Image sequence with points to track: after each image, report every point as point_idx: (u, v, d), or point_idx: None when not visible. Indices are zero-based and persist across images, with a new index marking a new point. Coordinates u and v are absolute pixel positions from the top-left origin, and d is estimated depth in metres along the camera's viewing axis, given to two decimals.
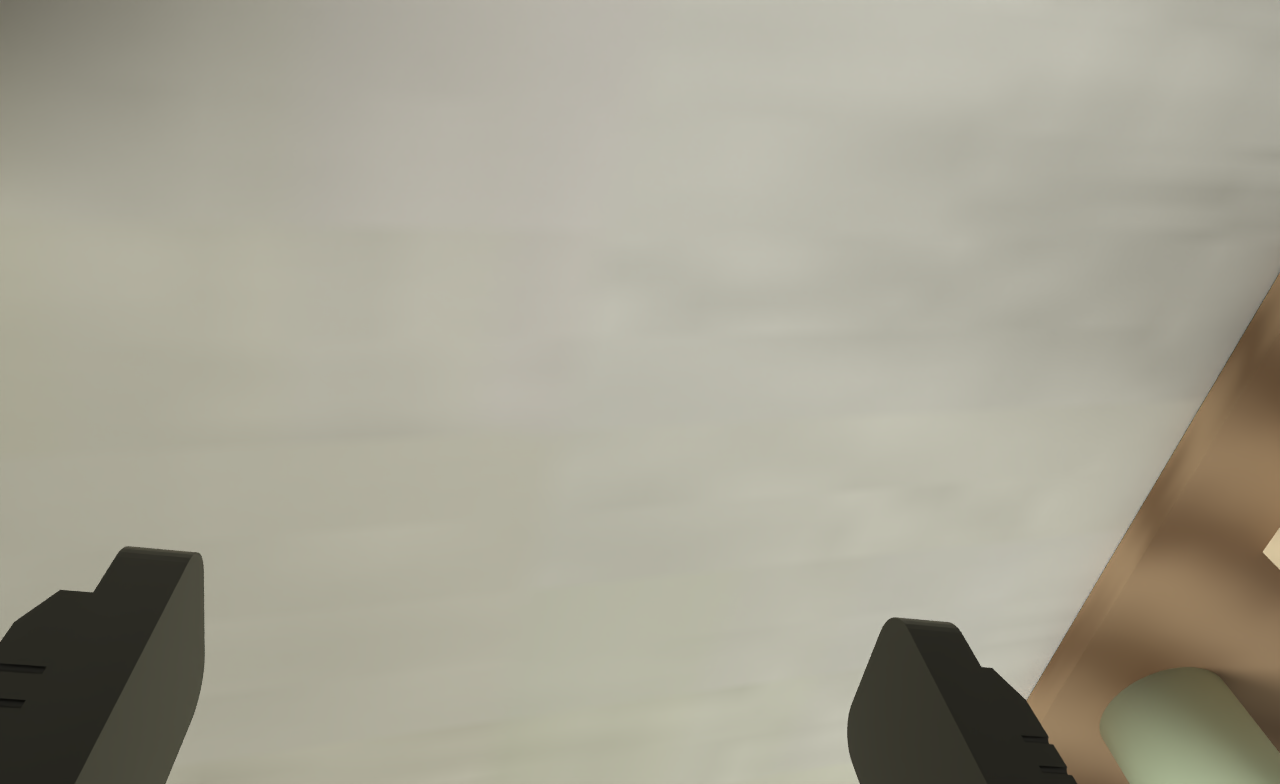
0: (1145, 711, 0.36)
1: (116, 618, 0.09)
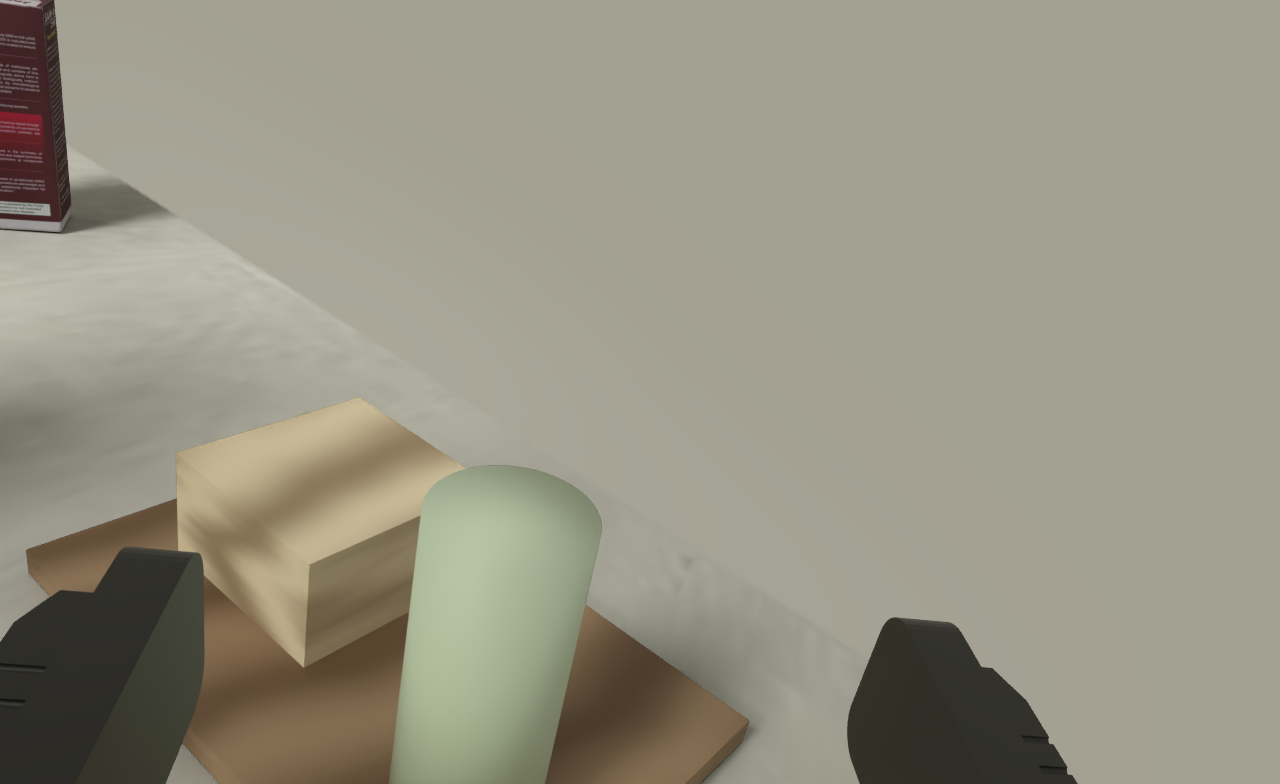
0: None
1: (116, 618, 0.09)
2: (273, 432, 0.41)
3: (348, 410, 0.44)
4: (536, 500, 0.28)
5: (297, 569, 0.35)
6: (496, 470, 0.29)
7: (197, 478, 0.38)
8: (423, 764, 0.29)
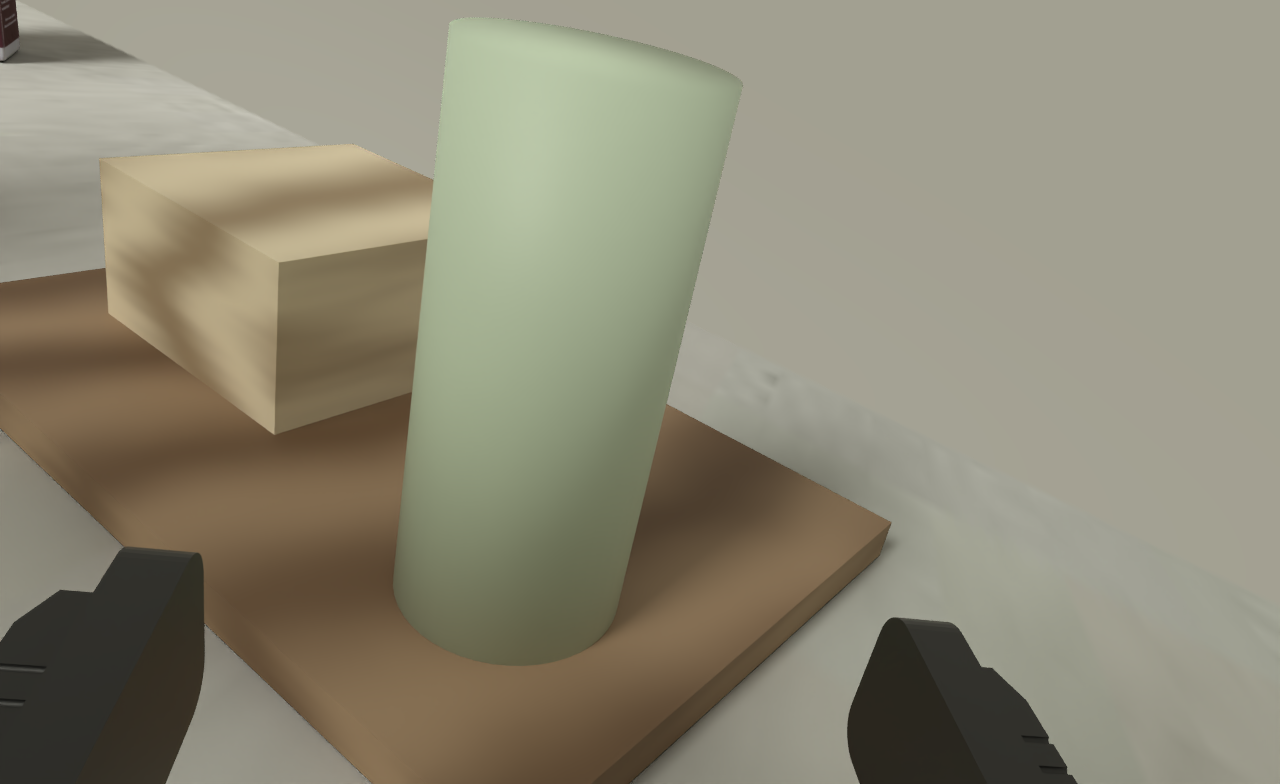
0: (399, 551, 0.20)
1: (116, 618, 0.09)
2: (236, 157, 0.31)
3: (338, 150, 0.34)
4: (631, 51, 0.18)
5: (262, 277, 0.24)
6: (562, 28, 0.19)
7: (127, 186, 0.27)
8: (451, 487, 0.18)
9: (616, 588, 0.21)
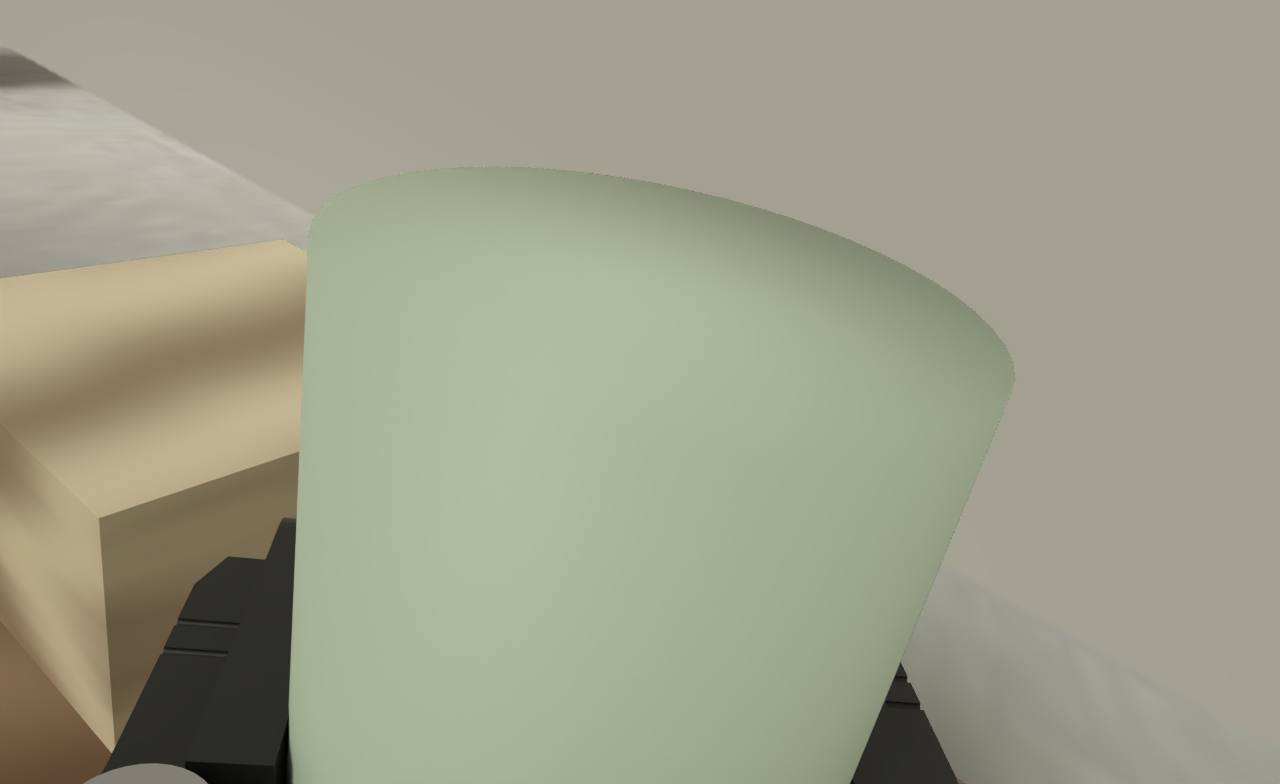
0: None
1: (291, 579, 0.10)
2: (98, 277, 0.21)
3: (258, 254, 0.24)
4: (730, 245, 0.08)
5: (79, 532, 0.15)
6: (576, 179, 0.09)
7: None
8: None
9: None
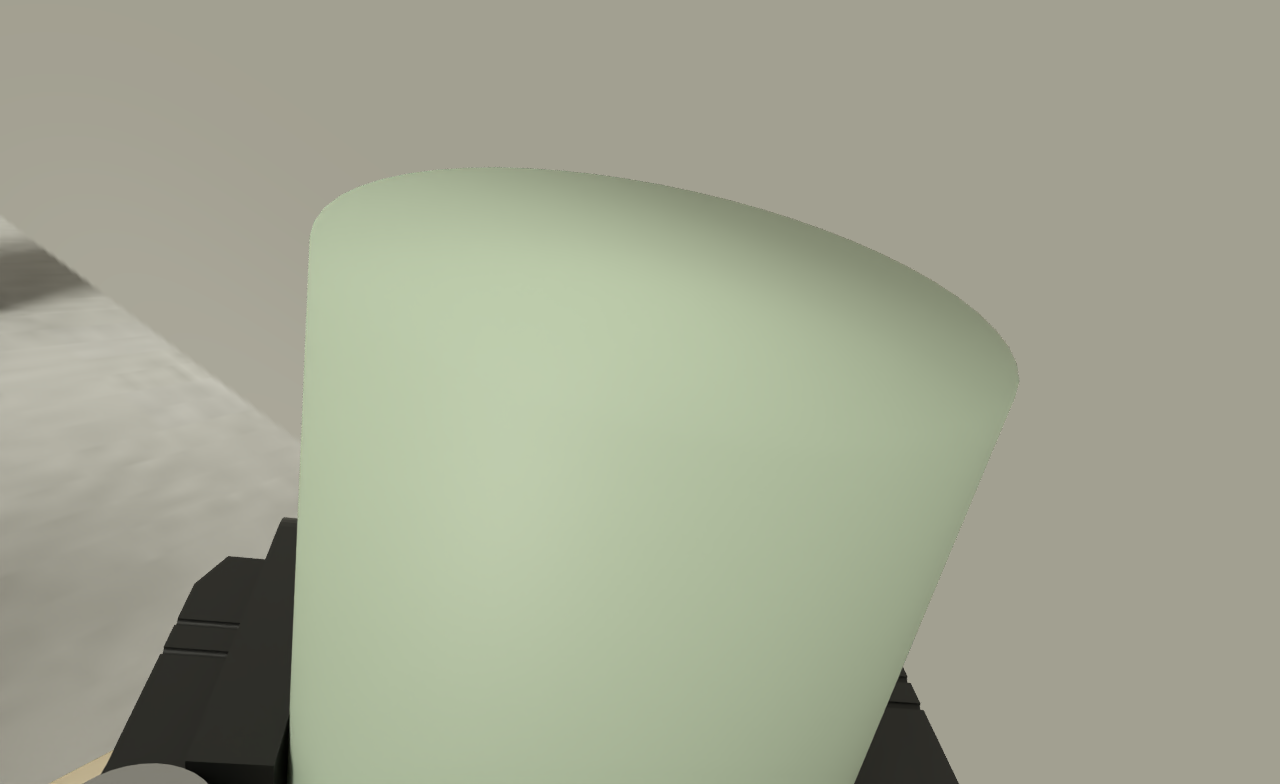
0: None
1: (291, 579, 0.10)
2: None
3: None
4: (732, 246, 0.08)
5: None
6: (578, 180, 0.09)
7: None
8: None
9: None
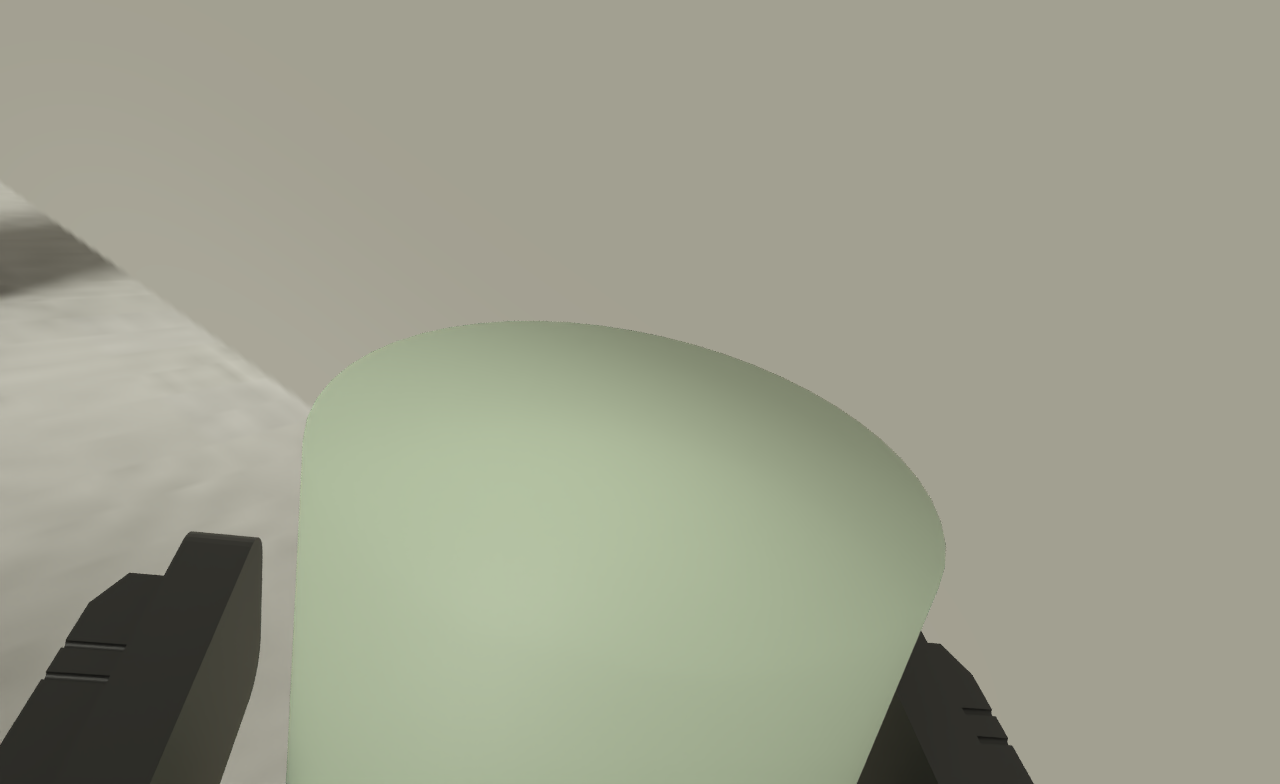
0: None
1: (188, 598, 0.09)
2: None
3: None
4: (694, 411, 0.09)
5: None
6: (554, 333, 0.10)
7: None
8: None
9: None
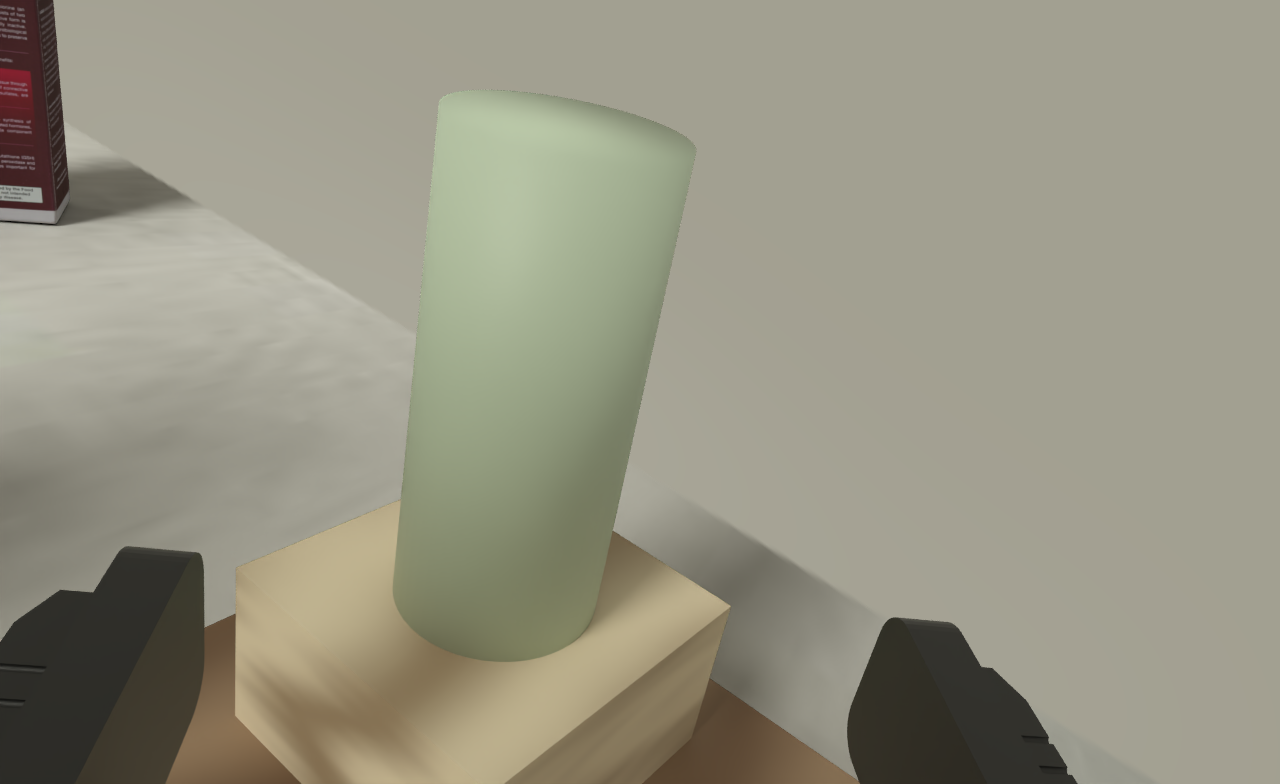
0: (398, 561, 0.23)
1: (116, 618, 0.09)
2: (384, 523, 0.26)
3: None
4: (599, 119, 0.20)
5: None
6: (538, 96, 0.21)
7: (273, 613, 0.23)
8: (445, 505, 0.21)
9: (594, 591, 0.23)
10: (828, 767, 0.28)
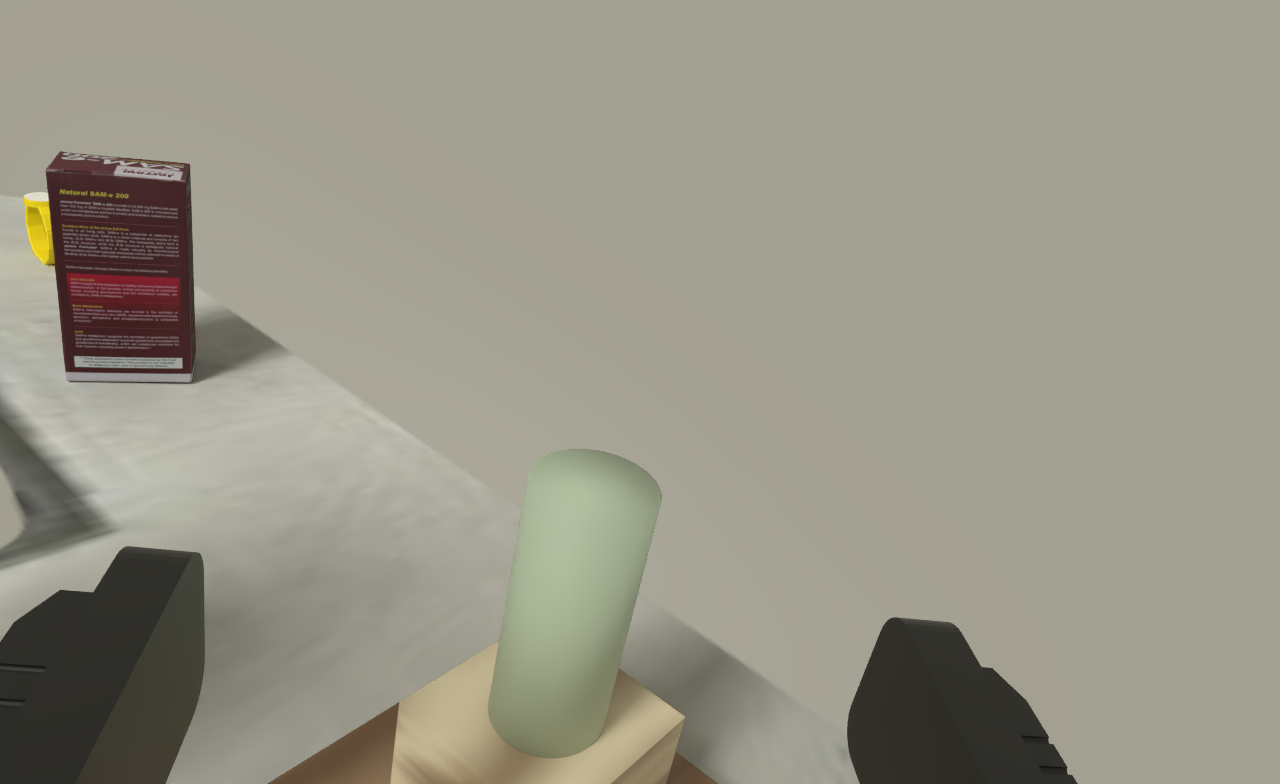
0: (494, 699, 0.40)
1: (116, 618, 0.09)
2: (477, 667, 0.43)
3: None
4: (610, 474, 0.37)
5: None
6: (576, 453, 0.38)
7: (423, 729, 0.40)
8: (526, 677, 0.38)
9: (604, 715, 0.41)
10: None
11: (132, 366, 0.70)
